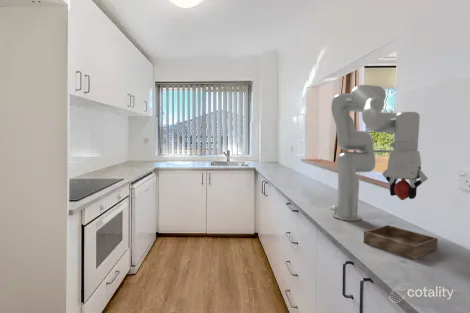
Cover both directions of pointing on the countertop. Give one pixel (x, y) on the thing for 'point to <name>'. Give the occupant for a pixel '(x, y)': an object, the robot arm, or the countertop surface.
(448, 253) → the countertop surface
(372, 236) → the holder tray
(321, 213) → the countertop surface
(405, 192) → the onion
